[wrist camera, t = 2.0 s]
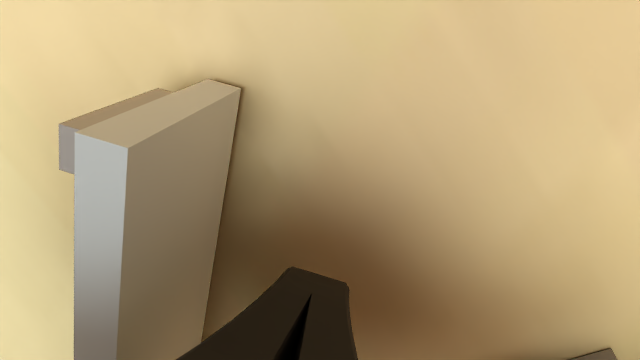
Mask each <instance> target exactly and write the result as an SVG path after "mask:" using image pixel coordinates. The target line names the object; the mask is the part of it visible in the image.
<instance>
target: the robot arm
mask: <svg viewBox="0 0 640 360" xmlns="http://www.w3.org/2000/svg"><path fill="white" fill-rule="evenodd" d="M176 360H358V358H357V353H356V348H355V343H354V339H353V333H352V327H351V319H350V311H349V288H348V286H347V284H346V283H344V282H341V281H338V280H335V279H331V278H328V277H325V276H322V275H318V274H315V273H312V272H309V271H306V270H302V269H299V268H296V267H291V268H288V269H287V270H286V271H285V272H284V273H283V274H282V275H281V276H280V278H279V279H278V280H277V281H276V282H275V283H274V284H273V285H272V286H271V287H270V288H269V289H268V290H267V291H265V292H264V293H263V294H262V295H261V296H260V297H259V298H258V299H257V300H255V301H254V302H253V303H252V304H251V305H250V306H248V307H247V308H246V309H245V310H244V311H243V312H241V313H240V314H239V315H238V316H237V317H235V318H234V319H233V320H232V321H230V322H229V323H227V324H226V325H225V326H223V327H222V328H221V329H219V330H218V331H217V332H215V333H214V334H213V335H211V336H210V337H209V338H207V339H206V340H205V341H203V342H202V343H200V344H199V345H197V346H196V347H194V348H193V349H191V350H190V351H188V352H187V353H185V354H184V355H182V356H180V357H179V358H177V359H176Z"/></svg>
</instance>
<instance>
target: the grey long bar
mask: <svg viewBox="0 0 640 360" xmlns="http://www.w3.org/2000/svg"><path fill="white" fill-rule="evenodd" d="M240 92H241V88H239V87H235V86H232V85H228V84H224V83H221V82H217V81H214V80H210V79H206V80H204V81H201V82H199V83H196V84H194V85H191V86H189V87H186V88H184V89H181V90H179V91H176V92H174V93H173V92H170V91H166V90H163V89H159V88H157V89H154V90H151V91H149V92H146V93H143V94H140V95H138V96H135V97H132V98H129V99H126V100H124V101H121V102H118V103H115V104H113V105H110V106H107V107H104V108H101V109H99V110H96V111H93V112H90V113H88V114H85V115H82V116H79V117H76V118H74V119H71V120H68V121H65V122H63V123H60V124H59V170H62V171H65V172H68V173H72V174H75V185H74V360H176V359H177V358H179V357H180V356H182V355H184V354H185V353H187V352H188V351H190V350H191V349H193V348H194V347H196V346H197V345H199V344H200V343H201V339H202V333H203V327H204V320H205V314H206V308H207V301H208V295H209V289H210V282H211V276H212V270H213V263H214V257H215V251H216V244H217V238H218V232H219V225H220V219H221V213H222V206H223V200H224V194H225V187H226V181H227V175H228V168H229V162H230V156H231V149H232V143H233V137H234V130H235V124H236V118H237V111H238V105H239V99H240Z"/></svg>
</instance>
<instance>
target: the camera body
mask: <svg viewBox="0 0 640 360" xmlns="http://www.w3.org/2000/svg"><path fill="white" fill-rule="evenodd" d="M571 360H617V358H616V356H615V355H614V353H613V351H612V349H607V350H603V351H600V352H596V353H593V354H589V355H586V356H582V357H578V358H575V359H571Z"/></svg>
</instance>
